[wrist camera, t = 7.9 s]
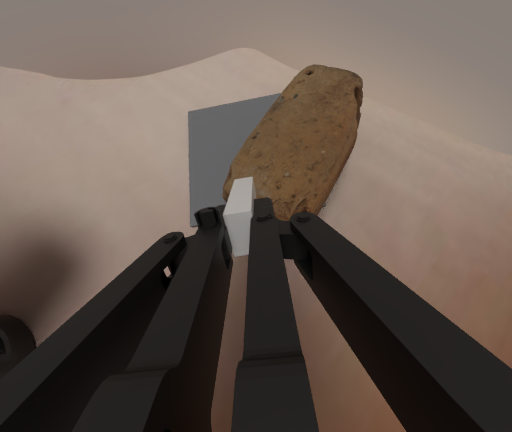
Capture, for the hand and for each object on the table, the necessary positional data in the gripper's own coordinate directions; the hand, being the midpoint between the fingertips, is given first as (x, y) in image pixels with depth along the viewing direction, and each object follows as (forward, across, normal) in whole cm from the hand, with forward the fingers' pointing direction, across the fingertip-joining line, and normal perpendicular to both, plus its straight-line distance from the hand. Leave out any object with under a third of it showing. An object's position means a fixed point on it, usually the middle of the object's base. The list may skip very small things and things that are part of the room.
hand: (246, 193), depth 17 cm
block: (+3, 0, -5) cm, 6 cm away
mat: (+15, 0, +1) cm, 15 cm away
